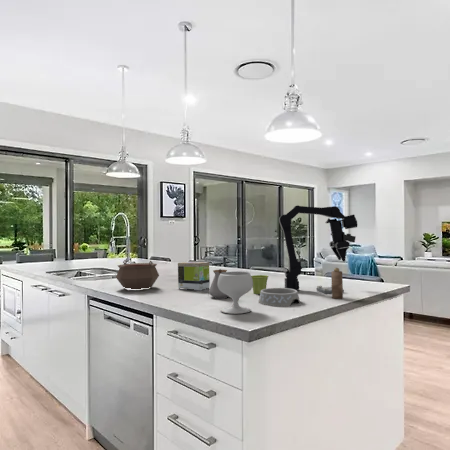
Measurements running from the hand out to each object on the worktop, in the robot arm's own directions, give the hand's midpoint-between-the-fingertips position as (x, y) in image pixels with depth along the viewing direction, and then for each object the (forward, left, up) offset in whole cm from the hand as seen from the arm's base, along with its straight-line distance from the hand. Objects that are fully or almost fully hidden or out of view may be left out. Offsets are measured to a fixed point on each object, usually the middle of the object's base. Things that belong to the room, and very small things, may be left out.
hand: (341, 260), depth 195 cm
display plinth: (-8, -3, -15) cm, 18 cm away
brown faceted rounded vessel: (-105, +36, -15) cm, 112 cm away
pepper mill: (-12, -20, -15) cm, 28 cm away
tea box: (-74, +27, -15) cm, 80 cm away
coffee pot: (-64, -8, -15) cm, 67 cm away
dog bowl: (-40, -22, -16) cm, 49 cm away
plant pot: (-43, +2, -15) cm, 46 cm away
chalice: (-62, -36, -15) cm, 74 cm away
